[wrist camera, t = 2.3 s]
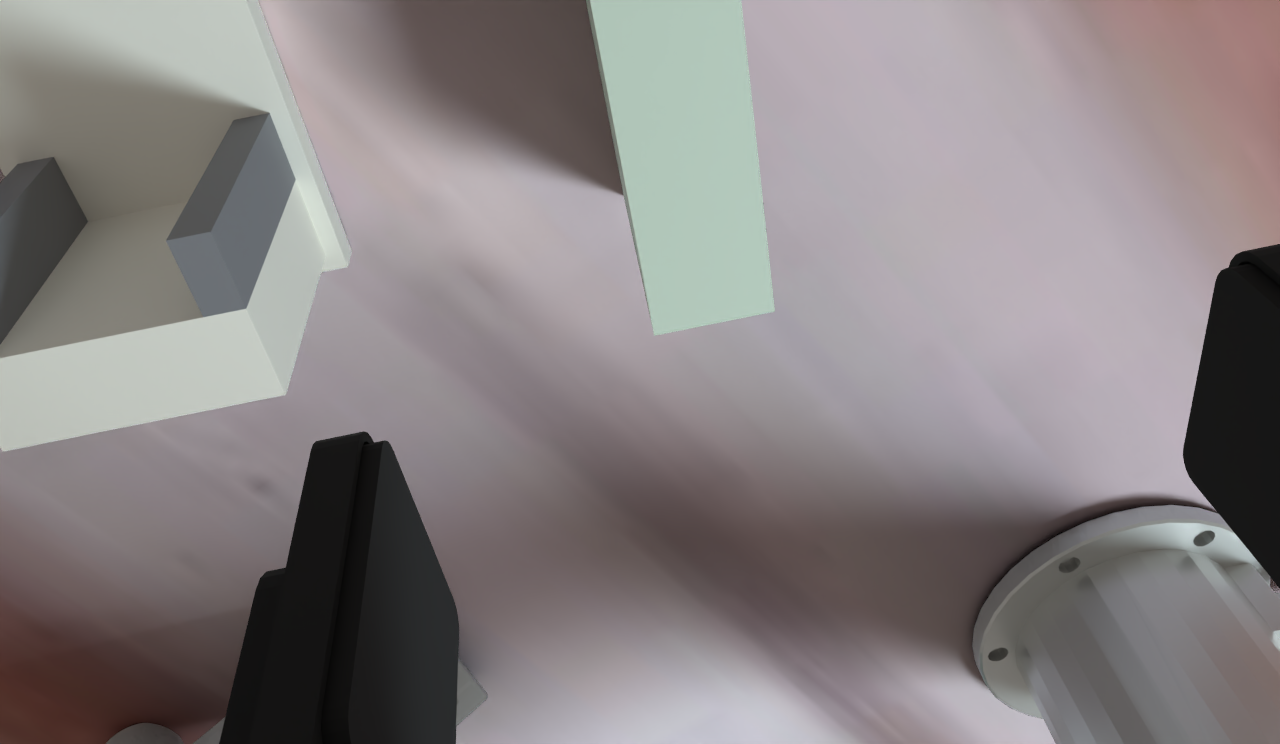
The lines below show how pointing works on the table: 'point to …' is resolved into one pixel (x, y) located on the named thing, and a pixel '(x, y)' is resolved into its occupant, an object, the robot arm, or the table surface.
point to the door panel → (686, 156)
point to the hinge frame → (150, 214)
